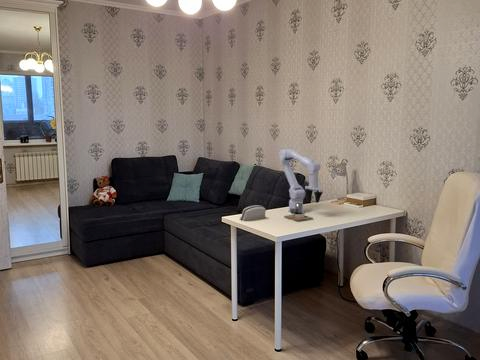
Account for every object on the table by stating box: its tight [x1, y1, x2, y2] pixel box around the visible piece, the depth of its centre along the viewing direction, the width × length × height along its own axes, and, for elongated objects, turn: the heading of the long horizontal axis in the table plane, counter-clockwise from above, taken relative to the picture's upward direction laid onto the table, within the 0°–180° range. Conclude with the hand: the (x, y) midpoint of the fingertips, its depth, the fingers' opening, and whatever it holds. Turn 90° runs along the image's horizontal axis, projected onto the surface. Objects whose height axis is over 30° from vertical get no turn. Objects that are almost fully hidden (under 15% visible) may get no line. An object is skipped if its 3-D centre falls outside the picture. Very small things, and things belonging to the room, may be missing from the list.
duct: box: [283, 212, 314, 223], centre depth 270 cm, size 14×12×4 cm
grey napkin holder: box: [239, 204, 266, 222], centre depth 270 cm, size 17×5×10 cm, turn 121°
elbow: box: [290, 203, 302, 214], centre depth 269 cm, size 8×4×8 cm, turn 123°
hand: (313, 201), depth 277 cm, fingers open, 7 cm apart
